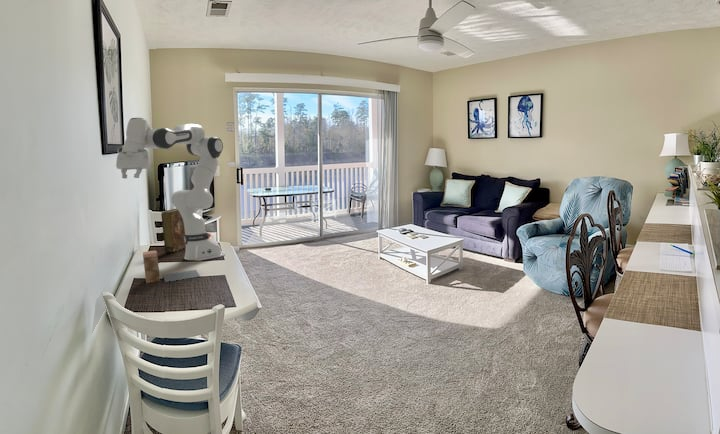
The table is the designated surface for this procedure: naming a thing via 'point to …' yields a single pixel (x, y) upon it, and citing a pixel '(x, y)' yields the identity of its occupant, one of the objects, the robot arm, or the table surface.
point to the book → (173, 230)
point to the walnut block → (151, 266)
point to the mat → (181, 275)
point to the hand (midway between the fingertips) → (130, 178)
